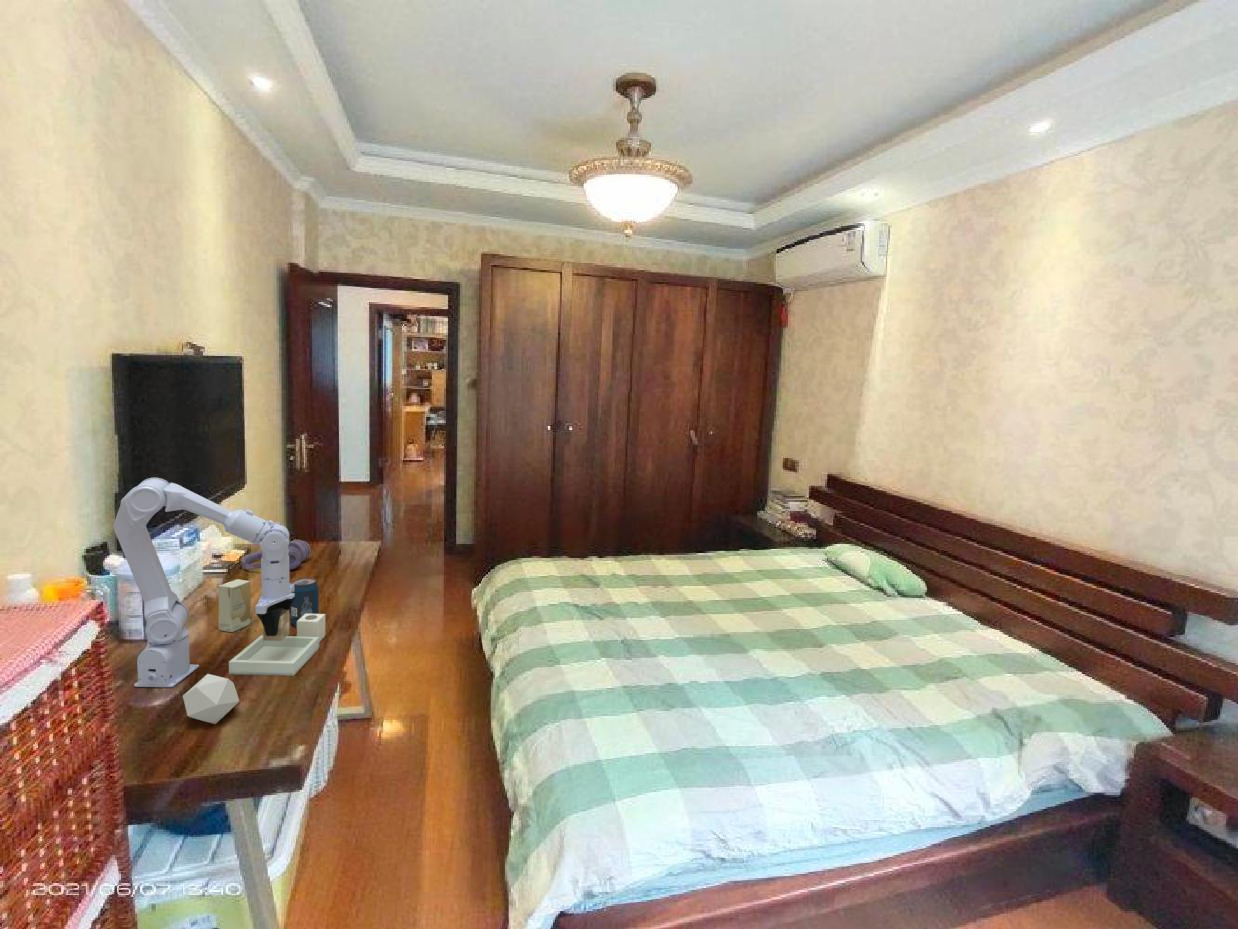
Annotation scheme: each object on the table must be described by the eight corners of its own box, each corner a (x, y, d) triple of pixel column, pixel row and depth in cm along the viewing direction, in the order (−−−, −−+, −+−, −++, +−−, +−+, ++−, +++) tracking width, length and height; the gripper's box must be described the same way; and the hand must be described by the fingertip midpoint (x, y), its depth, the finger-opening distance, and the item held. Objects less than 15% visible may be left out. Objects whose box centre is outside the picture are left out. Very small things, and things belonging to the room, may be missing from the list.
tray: (293, 675, 135) (293, 663, 135) (229, 674, 134) (228, 661, 134) (319, 648, 149) (319, 637, 149) (261, 646, 148) (260, 635, 147)
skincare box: (232, 633, 154) (231, 588, 152) (218, 630, 155) (216, 585, 153) (252, 623, 160) (251, 580, 159) (238, 621, 161) (237, 578, 159)
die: (250, 714, 121) (241, 666, 124) (225, 716, 112) (217, 664, 115) (205, 731, 119) (198, 682, 122) (177, 734, 111) (170, 681, 114)
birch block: (281, 640, 139) (280, 616, 138) (263, 640, 139) (262, 615, 138) (289, 633, 143) (288, 609, 142) (271, 633, 143) (271, 609, 142)
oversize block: (317, 644, 151) (317, 621, 151) (296, 643, 151) (296, 620, 150) (325, 635, 156) (325, 613, 155) (305, 635, 156) (305, 613, 155)
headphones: (315, 556, 218) (257, 564, 214) (312, 535, 216) (252, 542, 213) (298, 572, 200) (234, 581, 196) (294, 549, 198) (229, 557, 195)
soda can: (305, 616, 167) (305, 575, 166) (324, 621, 165) (324, 579, 163) (284, 625, 161) (283, 582, 159) (303, 630, 159) (303, 587, 157)
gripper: (278, 587, 132) (279, 645, 134) (306, 567, 146) (307, 619, 148) (244, 586, 131) (246, 644, 133) (277, 566, 146) (277, 618, 147)
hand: (276, 631), depth 141 cm, fingers closed on birch block, 4 cm apart
